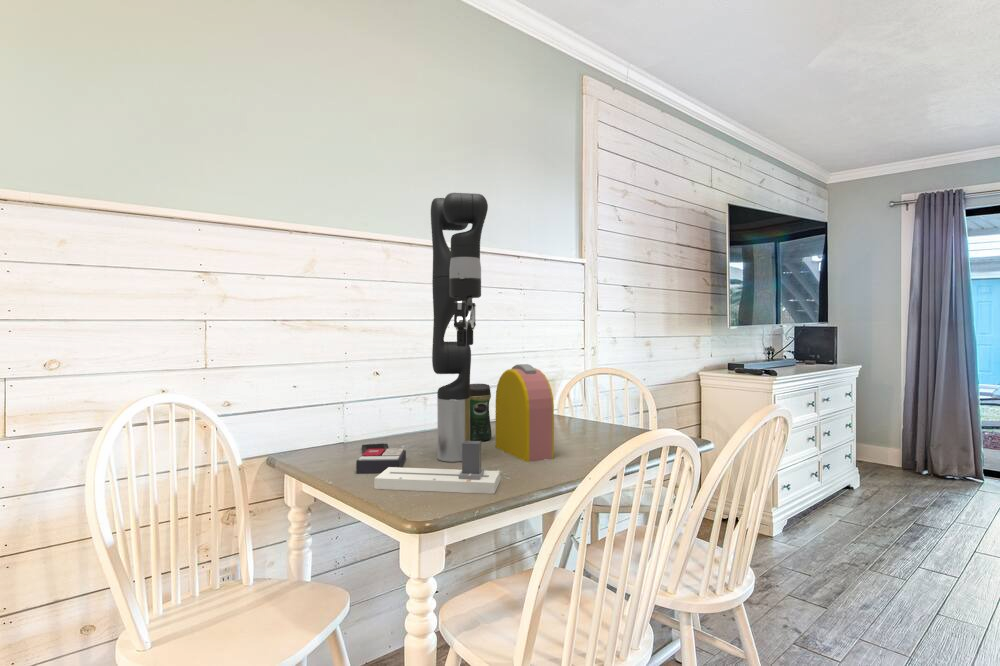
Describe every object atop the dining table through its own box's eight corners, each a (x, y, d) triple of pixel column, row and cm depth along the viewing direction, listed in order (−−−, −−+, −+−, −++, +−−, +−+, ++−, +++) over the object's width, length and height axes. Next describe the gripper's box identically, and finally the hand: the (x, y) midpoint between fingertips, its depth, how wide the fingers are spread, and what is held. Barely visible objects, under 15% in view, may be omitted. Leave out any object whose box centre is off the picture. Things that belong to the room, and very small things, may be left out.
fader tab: (463, 471, 132) (463, 439, 132) (484, 472, 132) (484, 439, 132) (458, 478, 126) (458, 444, 126) (480, 479, 125) (480, 445, 125)
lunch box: (554, 458, 156) (554, 366, 156) (526, 462, 152) (526, 367, 152) (520, 444, 175) (520, 361, 175) (494, 446, 171) (494, 362, 171)
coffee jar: (485, 436, 187) (485, 382, 187) (494, 440, 180) (494, 384, 180) (458, 438, 183) (458, 383, 183) (466, 443, 176) (466, 385, 176)
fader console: (388, 477, 137) (388, 466, 137) (500, 481, 133) (500, 470, 133) (374, 488, 127) (374, 477, 127) (494, 493, 123) (494, 482, 123)
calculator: (406, 447, 155) (399, 457, 140) (406, 462, 155) (399, 474, 140) (366, 447, 155) (355, 457, 140) (366, 463, 155) (355, 474, 140)
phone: (387, 443, 172) (390, 454, 158) (387, 446, 172) (390, 457, 158) (361, 444, 170) (362, 455, 156) (361, 448, 170) (362, 459, 156)
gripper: (456, 280, 138) (456, 344, 138) (443, 275, 124) (443, 346, 124) (485, 279, 137) (485, 344, 137) (475, 274, 123) (475, 347, 123)
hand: (465, 345), depth 131 cm, fingers open, 8 cm apart
